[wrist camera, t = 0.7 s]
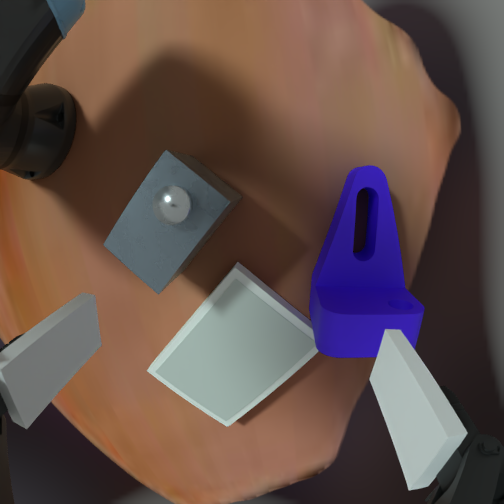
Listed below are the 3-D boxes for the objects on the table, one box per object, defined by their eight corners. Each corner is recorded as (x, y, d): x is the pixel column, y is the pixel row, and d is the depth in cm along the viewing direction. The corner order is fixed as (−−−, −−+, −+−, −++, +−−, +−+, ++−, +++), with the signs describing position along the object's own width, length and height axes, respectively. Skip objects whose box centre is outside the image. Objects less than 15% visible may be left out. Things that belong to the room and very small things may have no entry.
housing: (136, 234, 39) (94, 251, 29) (192, 156, 36) (161, 148, 26) (181, 273, 39) (151, 302, 29) (243, 196, 36) (228, 202, 26)
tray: (152, 362, 43) (146, 371, 40) (237, 261, 38) (234, 267, 35) (230, 416, 44) (227, 427, 41) (326, 333, 39) (328, 342, 37)
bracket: (388, 309, 38) (420, 354, 26) (309, 308, 39) (317, 357, 27) (402, 171, 34) (449, 170, 22) (317, 163, 35) (333, 155, 23)
